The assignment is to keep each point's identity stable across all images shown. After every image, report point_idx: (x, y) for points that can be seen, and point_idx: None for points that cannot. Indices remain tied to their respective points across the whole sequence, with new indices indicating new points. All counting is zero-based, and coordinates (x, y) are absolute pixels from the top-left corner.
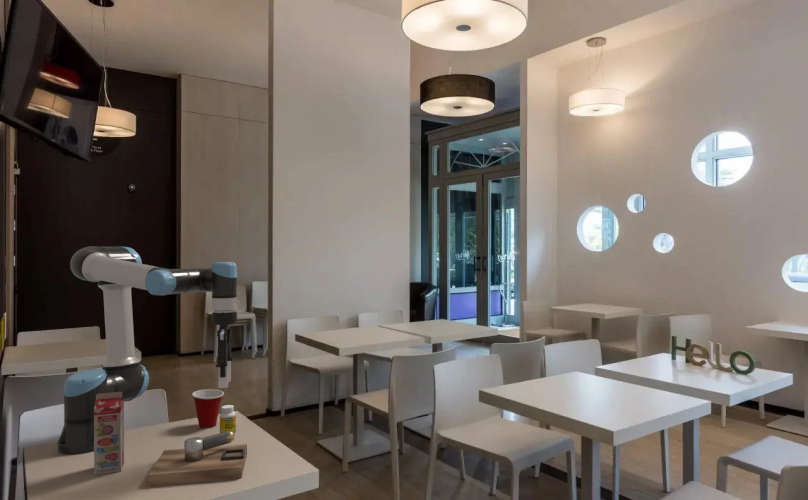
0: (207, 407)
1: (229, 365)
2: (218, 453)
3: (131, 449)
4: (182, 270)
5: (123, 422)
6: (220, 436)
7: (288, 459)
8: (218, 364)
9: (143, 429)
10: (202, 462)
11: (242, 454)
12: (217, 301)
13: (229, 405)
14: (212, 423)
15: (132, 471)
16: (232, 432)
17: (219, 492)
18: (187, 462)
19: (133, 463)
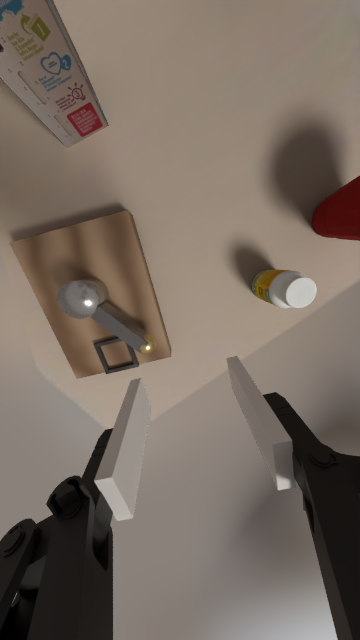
0: (345, 217)
1: (264, 456)
2: None
3: (186, 91)
4: None
5: (41, 15)
6: (121, 338)
7: (153, 407)
8: (2, 548)
9: (335, 28)
10: None
11: (112, 370)
12: None
13: (310, 294)
14: (321, 233)
15: (73, 175)
16: (145, 353)
17: (36, 358)
18: None
19: (109, 152)
